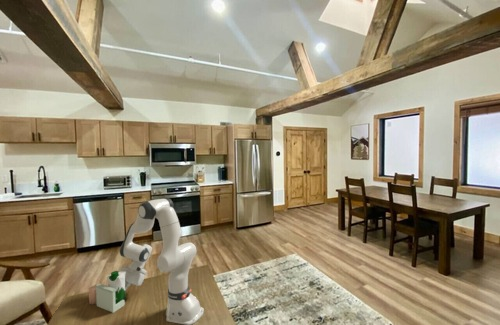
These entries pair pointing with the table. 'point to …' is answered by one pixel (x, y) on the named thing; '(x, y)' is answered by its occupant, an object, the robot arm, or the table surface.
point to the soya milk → (117, 284)
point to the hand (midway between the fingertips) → (123, 289)
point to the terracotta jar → (92, 295)
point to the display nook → (107, 298)
